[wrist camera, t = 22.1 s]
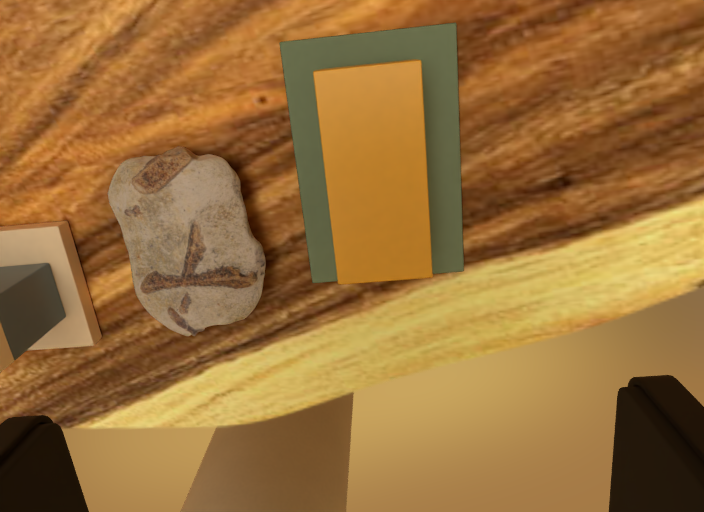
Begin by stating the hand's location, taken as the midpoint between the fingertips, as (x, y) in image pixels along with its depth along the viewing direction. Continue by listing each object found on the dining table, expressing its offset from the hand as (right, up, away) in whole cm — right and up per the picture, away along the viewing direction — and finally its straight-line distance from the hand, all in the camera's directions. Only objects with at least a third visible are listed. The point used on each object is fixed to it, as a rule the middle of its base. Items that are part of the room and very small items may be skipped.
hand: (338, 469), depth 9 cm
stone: (-8, +5, +19) cm, 22 cm away
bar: (+1, +8, +17) cm, 19 cm away
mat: (+2, +8, +18) cm, 19 cm away
